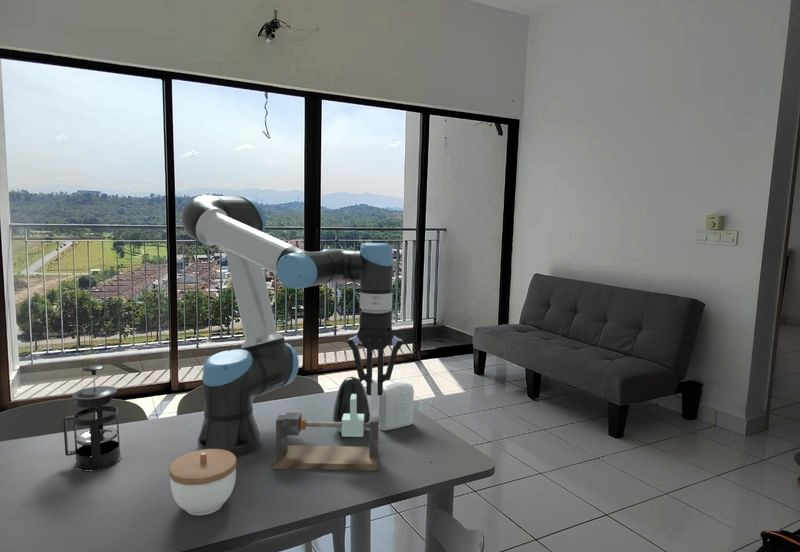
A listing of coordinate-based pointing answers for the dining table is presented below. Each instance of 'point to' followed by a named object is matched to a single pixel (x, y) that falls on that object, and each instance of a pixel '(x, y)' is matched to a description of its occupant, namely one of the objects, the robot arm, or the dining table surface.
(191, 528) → the dining table surface
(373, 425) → the rod stand
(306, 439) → the dining table surface
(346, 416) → the pale green block
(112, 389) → the french press
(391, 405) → the photo printer
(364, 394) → the pump dispenser
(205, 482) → the lidded bowl
